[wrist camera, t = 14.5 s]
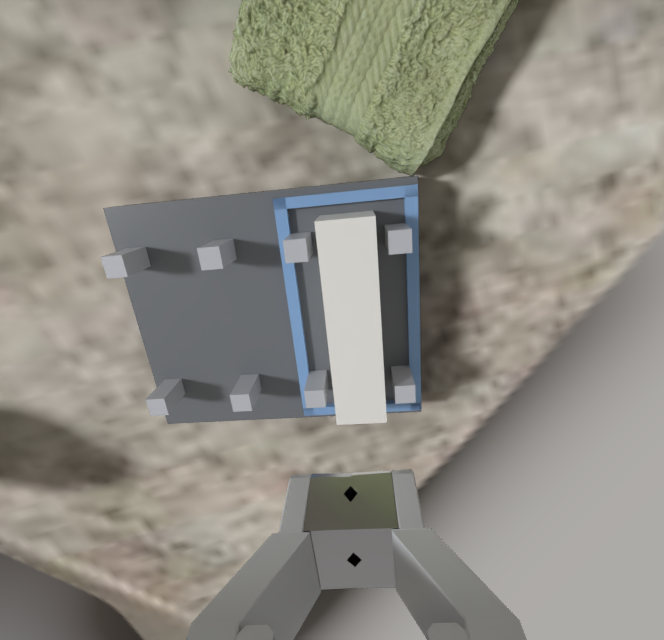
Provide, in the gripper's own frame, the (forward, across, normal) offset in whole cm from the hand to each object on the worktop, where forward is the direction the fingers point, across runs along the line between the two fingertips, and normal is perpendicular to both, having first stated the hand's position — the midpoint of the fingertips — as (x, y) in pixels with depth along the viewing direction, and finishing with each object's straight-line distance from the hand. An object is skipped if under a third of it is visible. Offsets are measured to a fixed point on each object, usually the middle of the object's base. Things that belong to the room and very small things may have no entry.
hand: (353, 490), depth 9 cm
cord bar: (+15, 0, +1) cm, 15 cm away
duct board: (+17, +5, +1) cm, 17 cm away
